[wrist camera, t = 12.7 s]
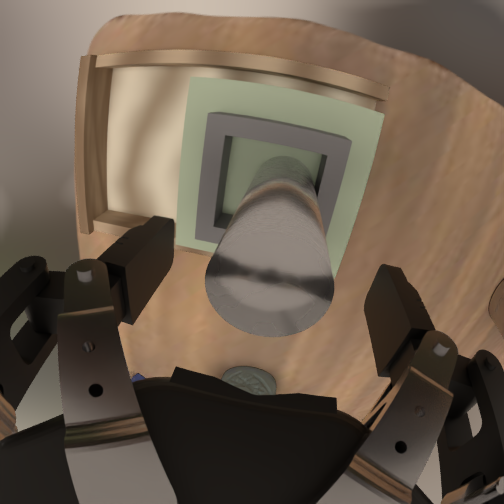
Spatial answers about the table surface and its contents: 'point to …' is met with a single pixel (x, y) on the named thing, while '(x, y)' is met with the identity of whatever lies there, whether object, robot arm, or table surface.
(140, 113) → the bay
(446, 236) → the table surface
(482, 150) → the table surface
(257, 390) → the teal cup
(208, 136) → the green stepped block
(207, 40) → the table surface
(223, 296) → the handle
